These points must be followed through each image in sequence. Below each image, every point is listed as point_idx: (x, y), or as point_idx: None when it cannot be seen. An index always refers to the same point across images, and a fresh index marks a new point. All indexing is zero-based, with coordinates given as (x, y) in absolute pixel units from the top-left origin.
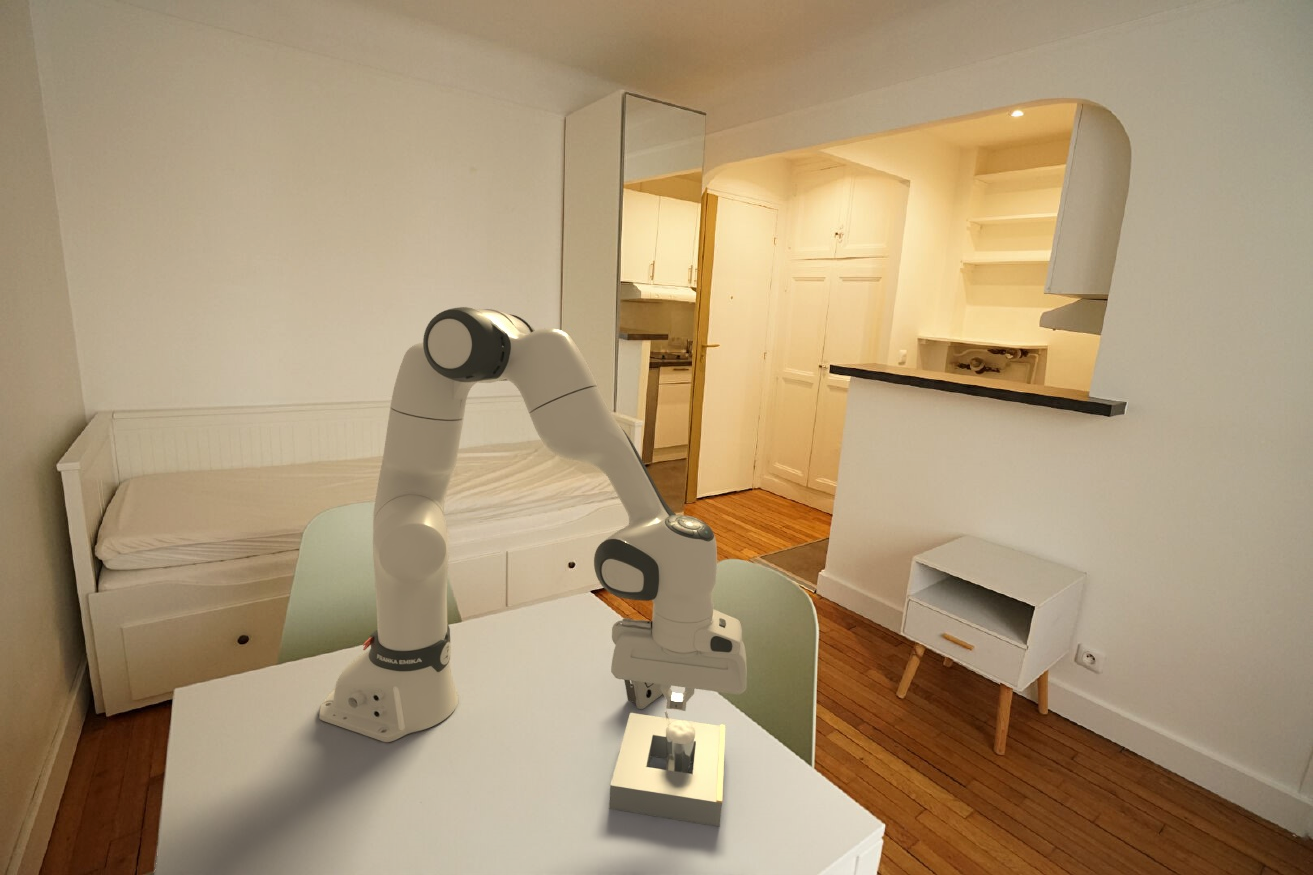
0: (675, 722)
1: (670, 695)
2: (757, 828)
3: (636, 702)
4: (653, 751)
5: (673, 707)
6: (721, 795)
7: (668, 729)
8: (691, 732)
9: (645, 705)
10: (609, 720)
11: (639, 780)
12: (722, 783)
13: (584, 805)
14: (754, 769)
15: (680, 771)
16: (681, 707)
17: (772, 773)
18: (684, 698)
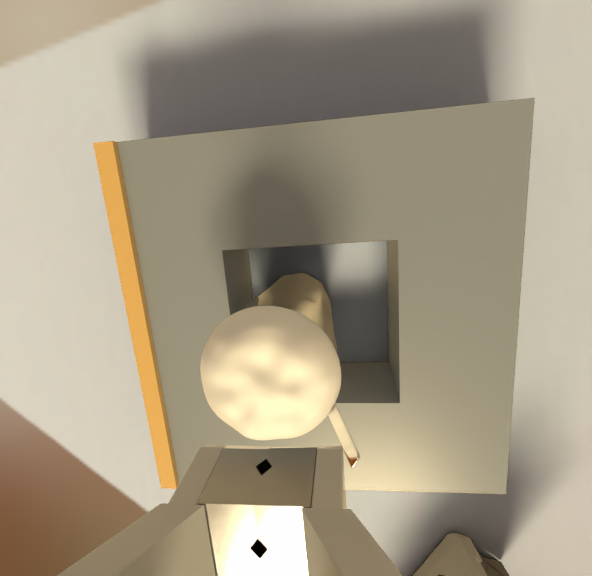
0: (298, 416)
1: (314, 556)
2: (56, 178)
3: (476, 553)
4: (384, 369)
5: (286, 454)
6: (101, 169)
7: (325, 367)
8: (208, 367)
9: (441, 547)
10: (548, 476)
11: (412, 161)
12: (111, 227)
13: (580, 106)
14: (103, 374)
15: (277, 282)
16: (223, 460)
17: (59, 370)
18: (165, 532)
